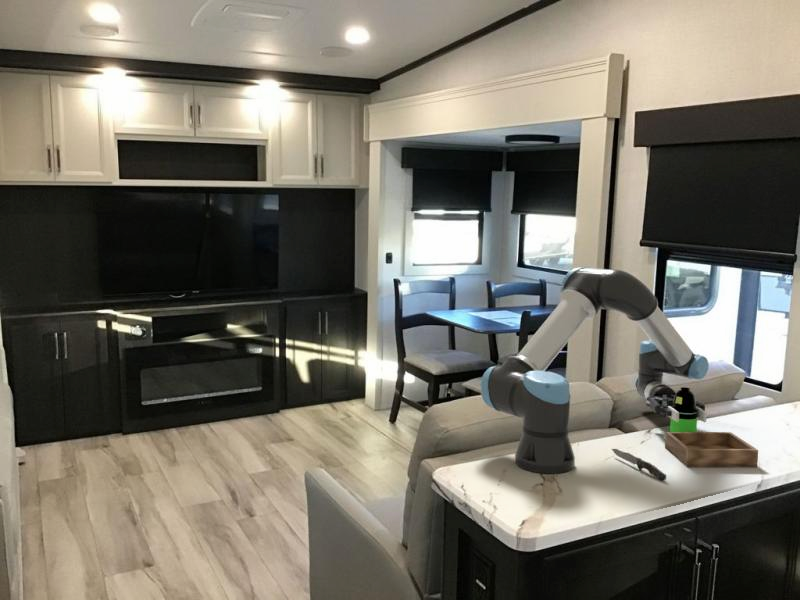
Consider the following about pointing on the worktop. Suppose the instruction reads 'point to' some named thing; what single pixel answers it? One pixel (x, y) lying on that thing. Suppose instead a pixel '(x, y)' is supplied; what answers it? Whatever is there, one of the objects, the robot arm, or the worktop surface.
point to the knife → (641, 464)
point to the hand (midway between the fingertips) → (691, 417)
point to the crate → (711, 449)
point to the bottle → (684, 411)
